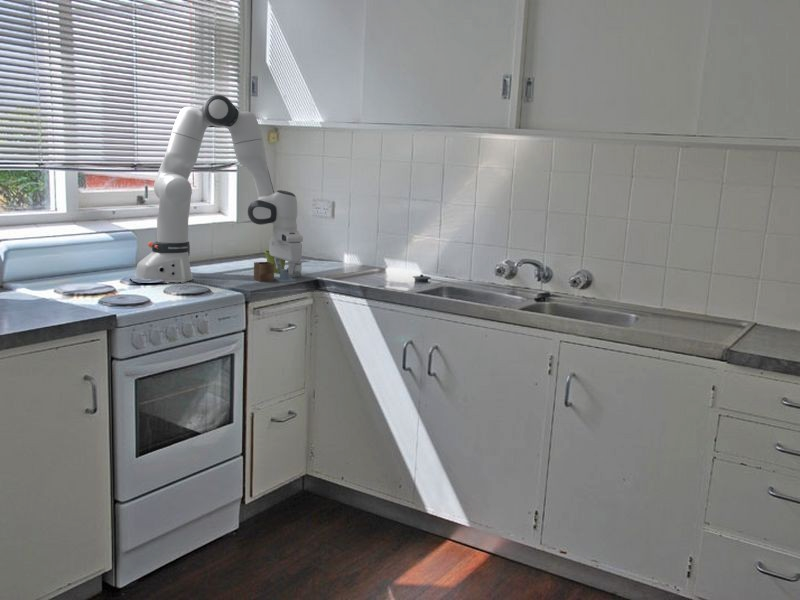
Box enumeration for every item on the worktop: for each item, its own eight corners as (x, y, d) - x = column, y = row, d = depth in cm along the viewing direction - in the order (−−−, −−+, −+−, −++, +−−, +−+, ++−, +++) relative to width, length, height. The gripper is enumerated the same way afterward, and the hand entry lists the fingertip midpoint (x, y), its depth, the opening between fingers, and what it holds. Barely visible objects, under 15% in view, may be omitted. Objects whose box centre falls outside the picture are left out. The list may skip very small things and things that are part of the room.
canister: (260, 283, 314) (260, 264, 313) (253, 280, 319) (254, 262, 317) (273, 282, 317) (274, 263, 316) (267, 279, 322) (267, 261, 321)
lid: (280, 284, 315) (280, 271, 314) (272, 281, 320) (272, 268, 320) (296, 283, 319) (296, 270, 318) (288, 280, 324) (288, 267, 323)
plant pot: (290, 272, 342) (290, 250, 340) (284, 275, 333) (285, 254, 331) (267, 270, 343) (267, 249, 341) (261, 274, 333) (261, 252, 332)
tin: (291, 279, 325) (292, 263, 324) (285, 277, 329) (286, 261, 328) (303, 278, 328) (304, 262, 327) (297, 276, 332) (298, 260, 331)
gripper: (265, 231, 323) (264, 267, 325) (289, 238, 306) (288, 275, 309) (280, 231, 326) (279, 266, 329) (305, 237, 310) (304, 274, 312)
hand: (284, 271), depth 319 cm, fingers open, 8 cm apart
